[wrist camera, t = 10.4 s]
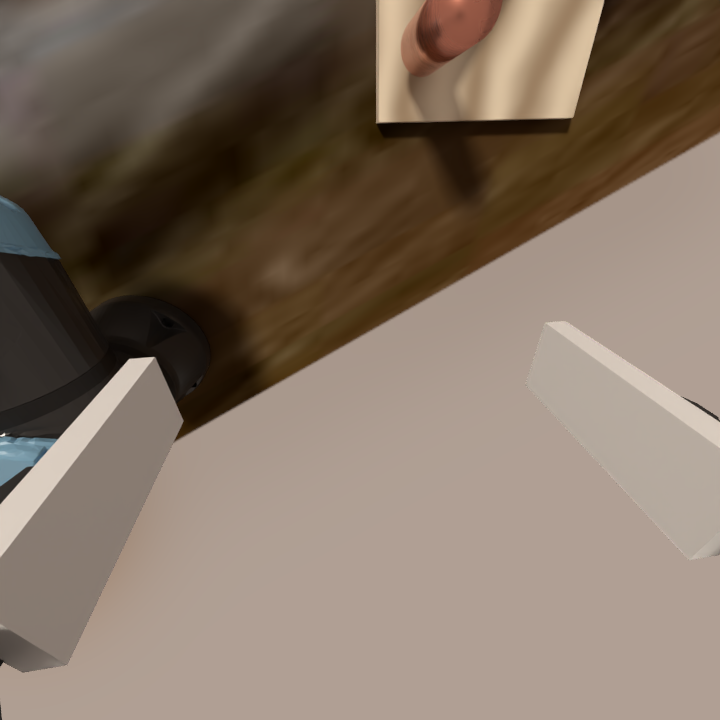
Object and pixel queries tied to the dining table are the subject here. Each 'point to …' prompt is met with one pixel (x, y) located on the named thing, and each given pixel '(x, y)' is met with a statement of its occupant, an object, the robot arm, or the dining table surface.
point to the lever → (445, 32)
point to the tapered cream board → (490, 65)
